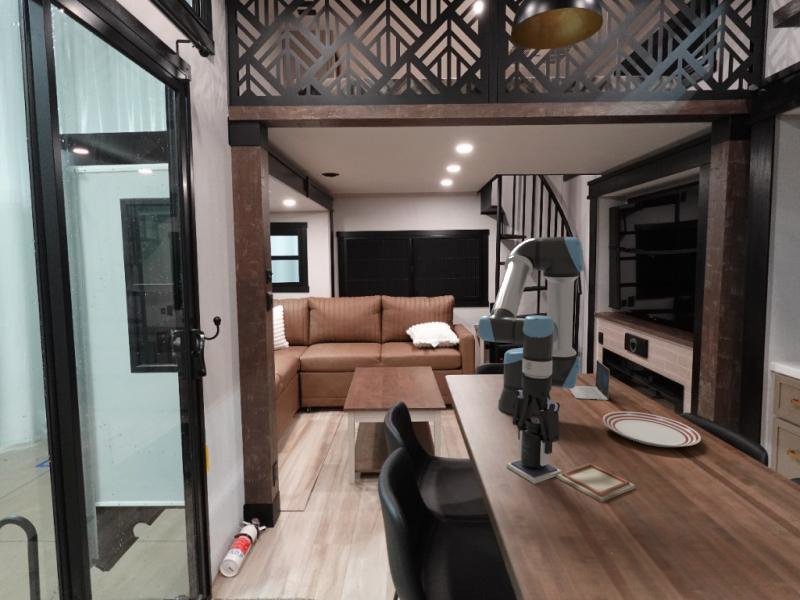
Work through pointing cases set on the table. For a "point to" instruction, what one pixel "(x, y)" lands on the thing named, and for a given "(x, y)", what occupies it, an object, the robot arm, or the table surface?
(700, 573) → the table surface
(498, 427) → the table surface
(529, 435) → the supplement bottle
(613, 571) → the table surface
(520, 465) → the ink pad
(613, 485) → the board
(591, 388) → the laptop
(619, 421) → the dinner plate
